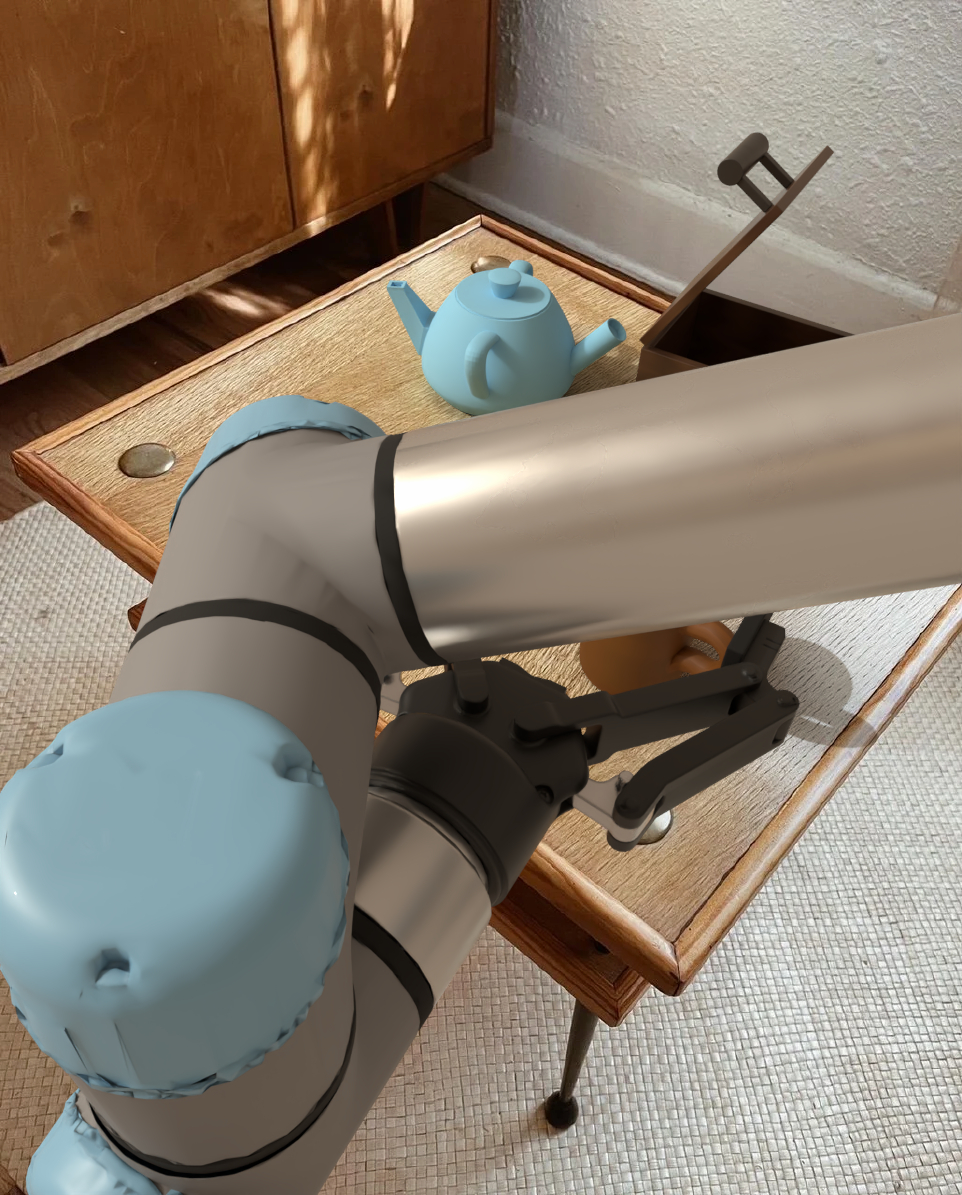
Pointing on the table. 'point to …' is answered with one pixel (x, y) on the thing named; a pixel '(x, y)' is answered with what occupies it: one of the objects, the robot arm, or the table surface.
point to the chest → (726, 335)
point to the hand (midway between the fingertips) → (647, 528)
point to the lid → (735, 173)
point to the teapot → (499, 340)
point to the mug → (651, 656)
